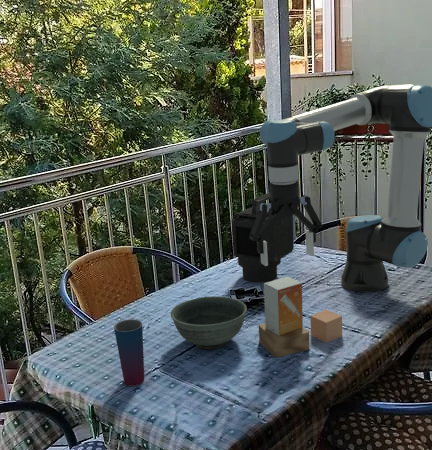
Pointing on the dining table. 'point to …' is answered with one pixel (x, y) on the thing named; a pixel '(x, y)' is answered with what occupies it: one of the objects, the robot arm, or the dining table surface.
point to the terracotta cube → (326, 326)
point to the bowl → (209, 320)
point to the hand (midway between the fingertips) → (287, 259)
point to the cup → (130, 350)
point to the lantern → (247, 249)
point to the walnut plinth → (284, 341)
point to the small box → (283, 305)
